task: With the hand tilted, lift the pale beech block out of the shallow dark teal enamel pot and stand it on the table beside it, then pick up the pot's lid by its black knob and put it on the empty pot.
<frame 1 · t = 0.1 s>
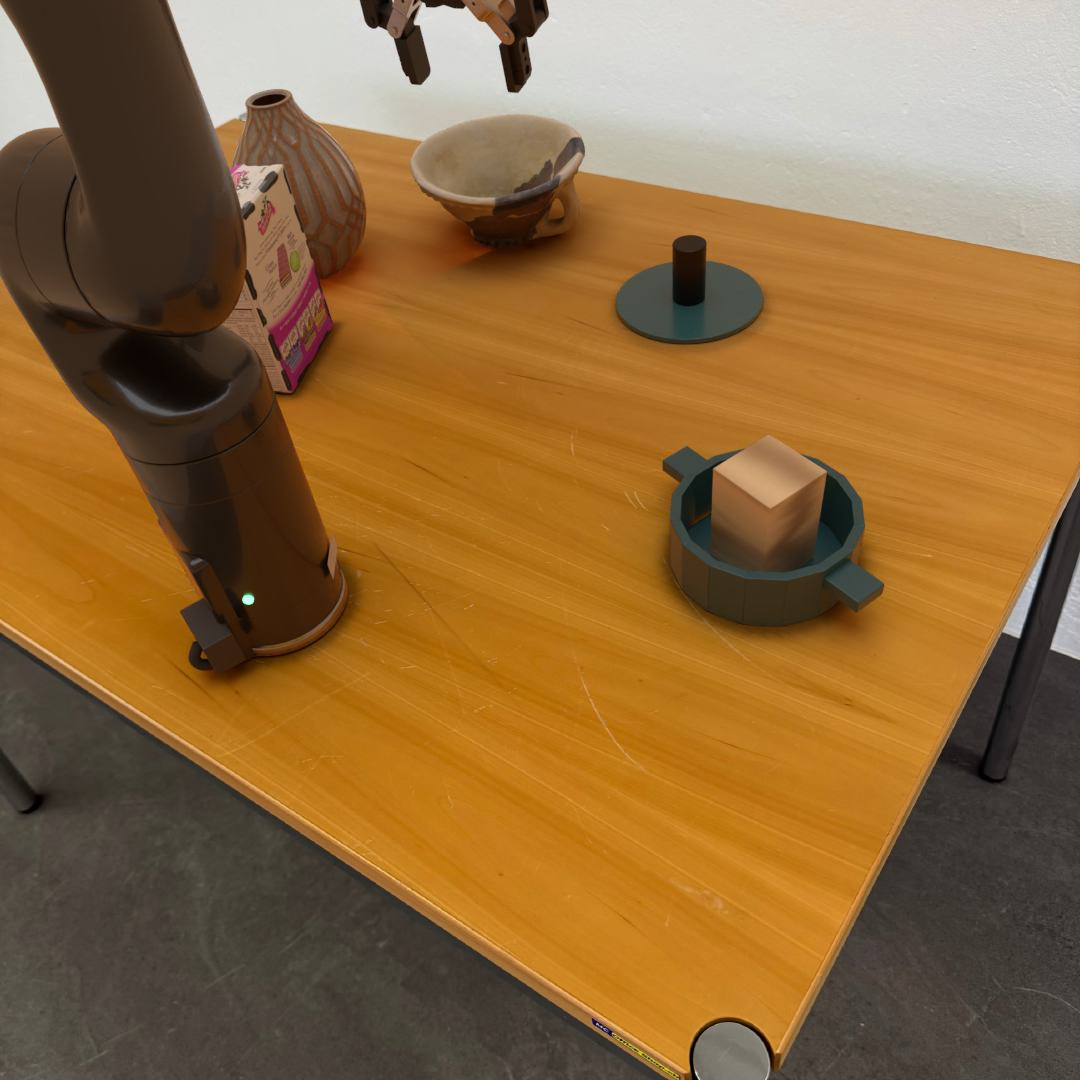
hand: (469, 83, 73), 22 cm above the table, tool pointing down, fingers open, 8 cm apart
vase: (318, 267, 101), on the table
block: (761, 555, 66), resting on pot
pot: (760, 559, 66), on the table
bowl: (508, 237, 102), on the table
candy bar box: (291, 360, 89), on the table
lid: (688, 302, 88), point 1 cm above the table
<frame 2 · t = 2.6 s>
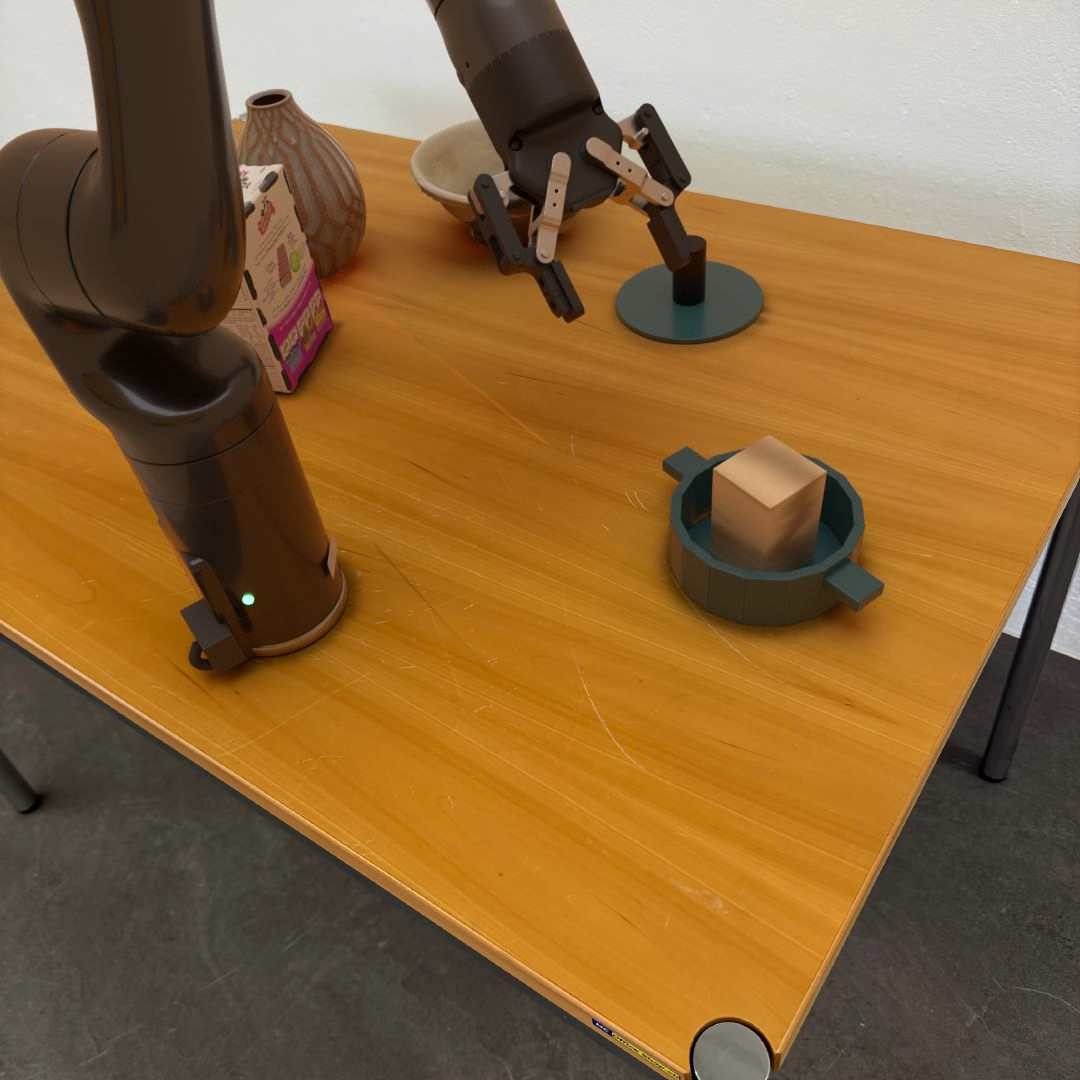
hand: (630, 292, 63), 16 cm above the table, tool tilted 40°, fingers open, 8 cm apart
nothing on the table moved.
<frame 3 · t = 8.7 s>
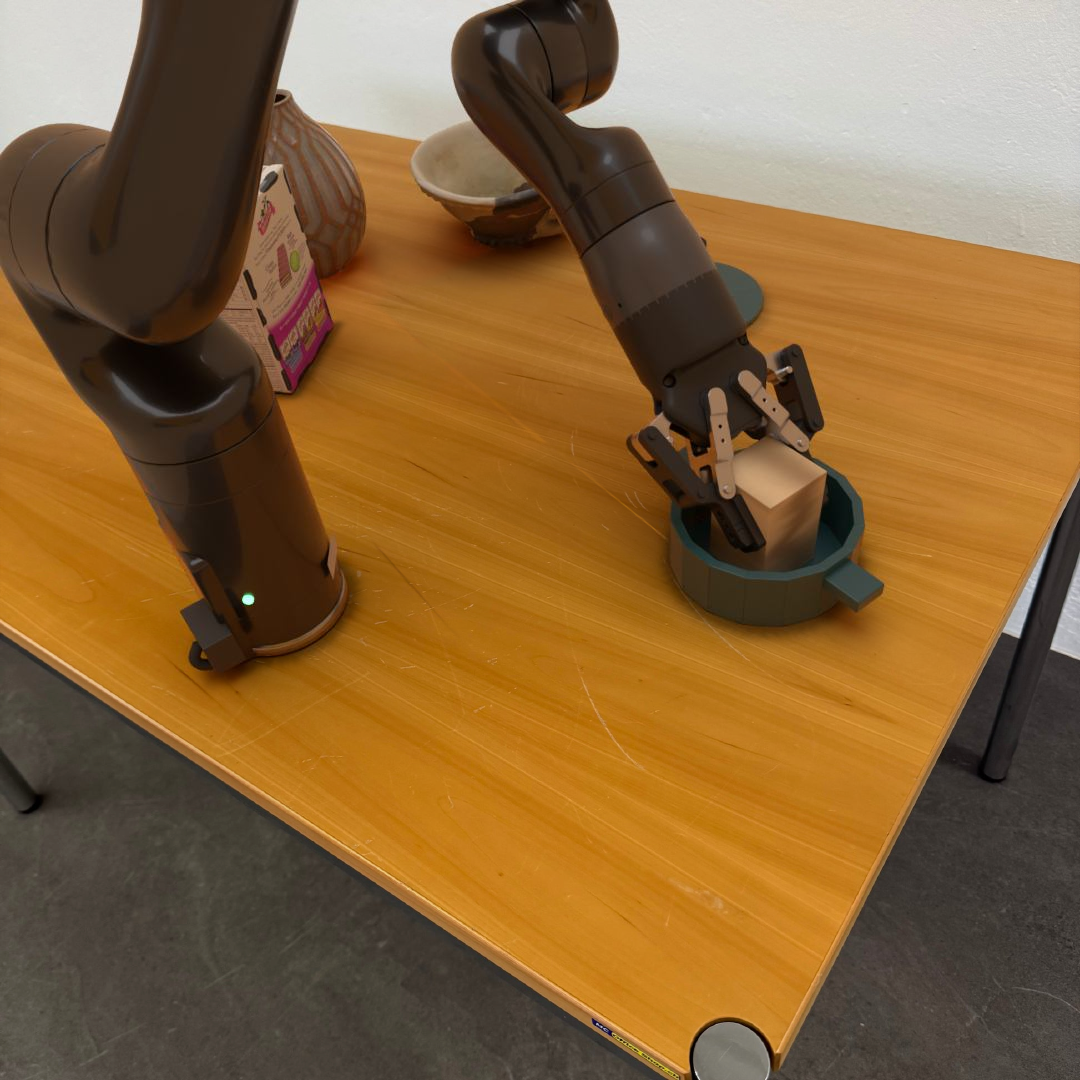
hand: (786, 527, 61), 5 cm above the table, tool tilted 45°, fingers closed on block, 5 cm apart
block: (761, 555, 66), resting on pot, touching gripper
everything else where it was.
when the fingers open (4 cm above the table, at t = 20.2 s): block stays where it is, on the table.
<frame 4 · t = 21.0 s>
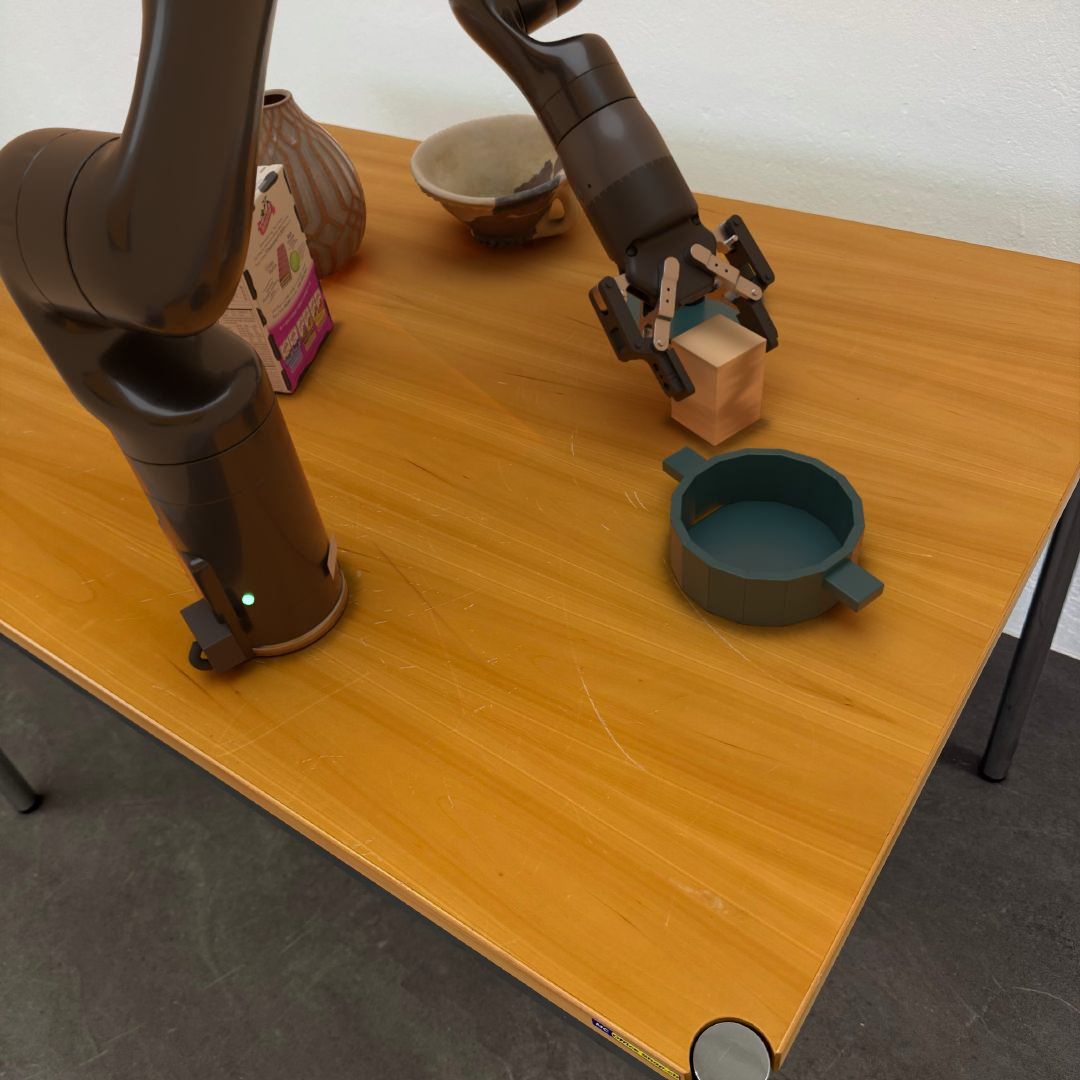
hand: (728, 373, 72), 6 cm above the table, tool tilted 45°, fingers open, 8 cm apart
block: (715, 422, 77), on the table
everything else where it was.
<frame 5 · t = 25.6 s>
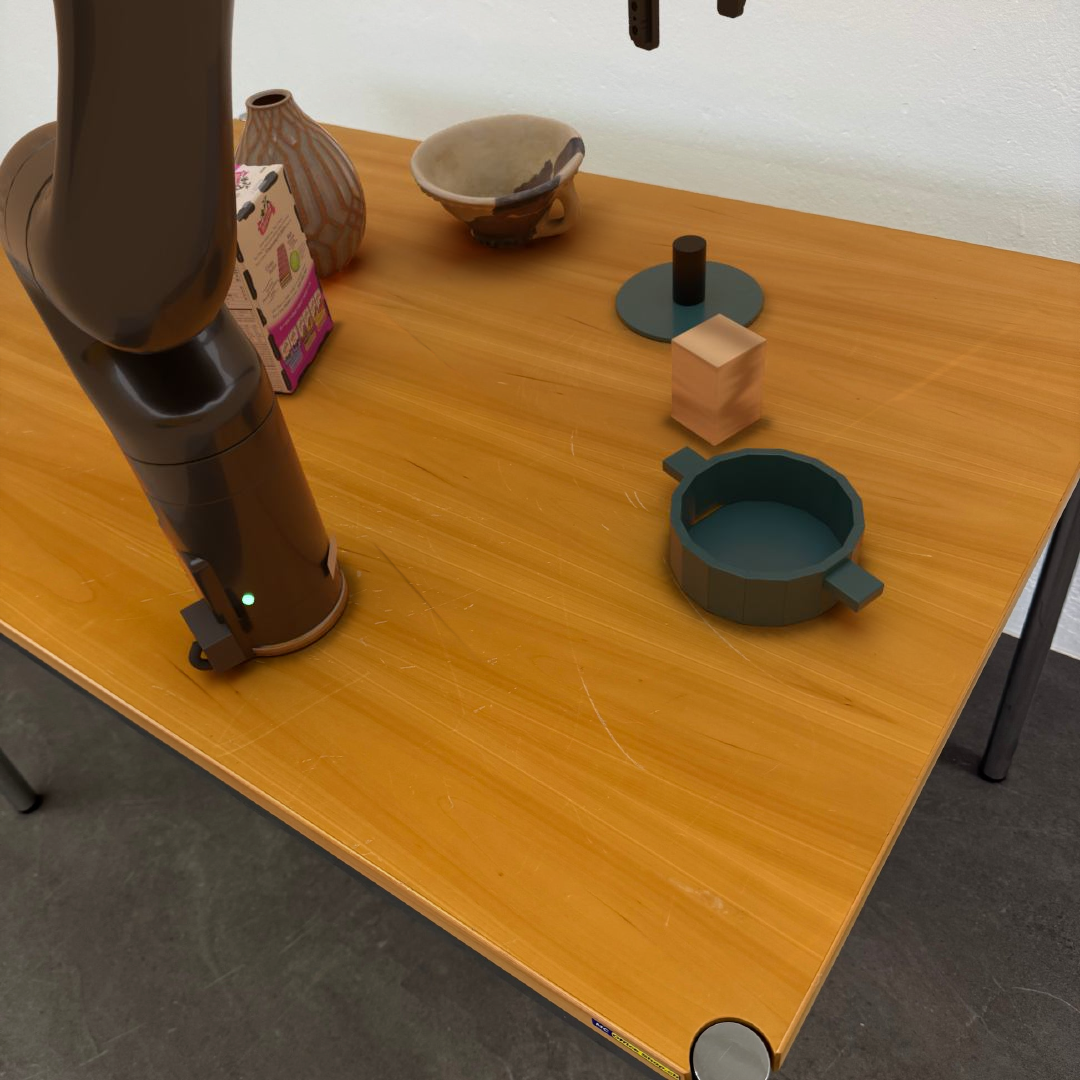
hand: (689, 31, 72), 24 cm above the table, tool pointing down, fingers open, 8 cm apart
nothing on the table moved.
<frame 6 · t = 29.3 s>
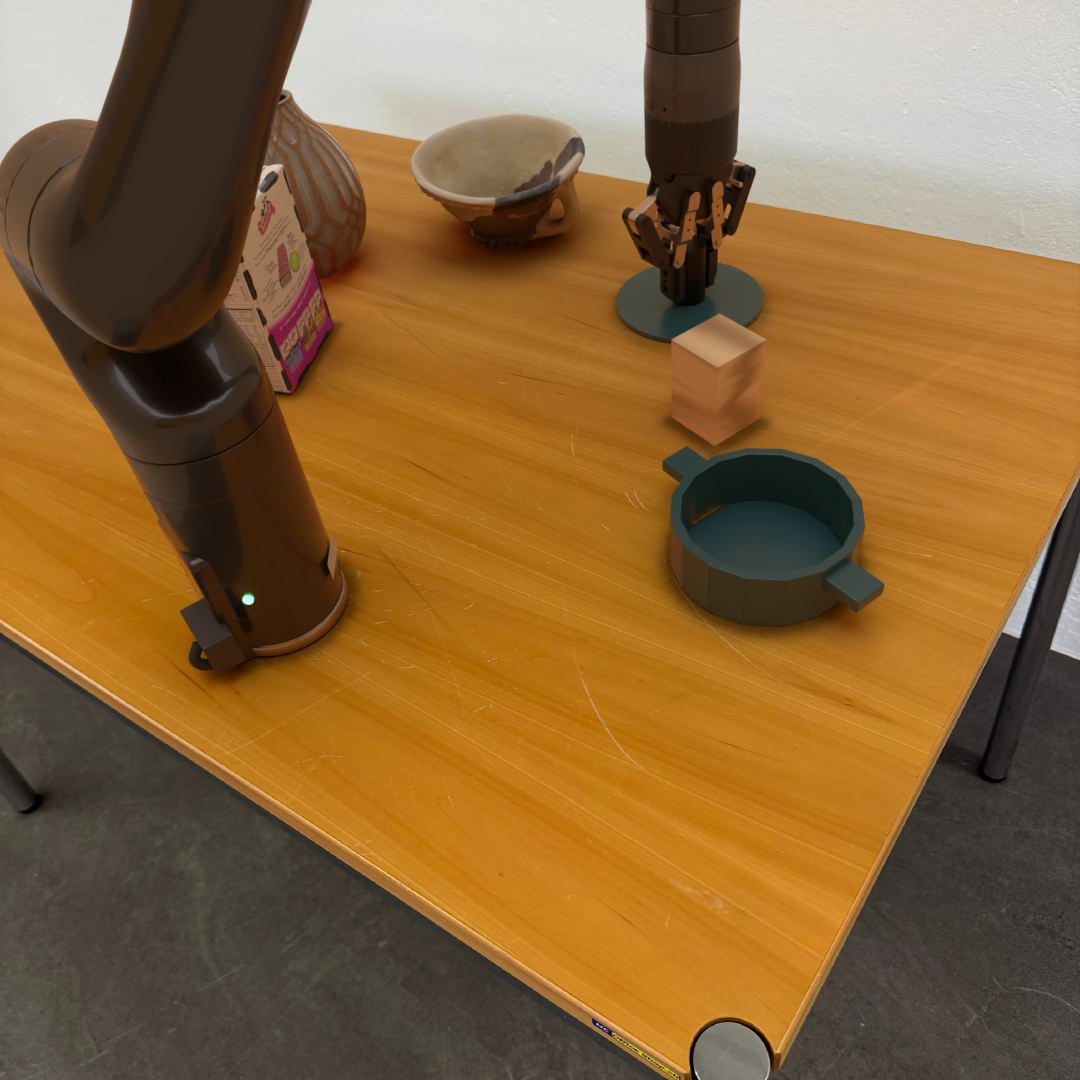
hand: (689, 290, 87), 2 cm above the table, tool pointing down, fingers closed on lid, 3 cm apart
lid: (688, 302, 88), point 1 cm above the table, touching gripper
everything else where it was.
when the fingers open (6 cm above the table, at t = 39.3 s): lid stays where it is, resting on pot.
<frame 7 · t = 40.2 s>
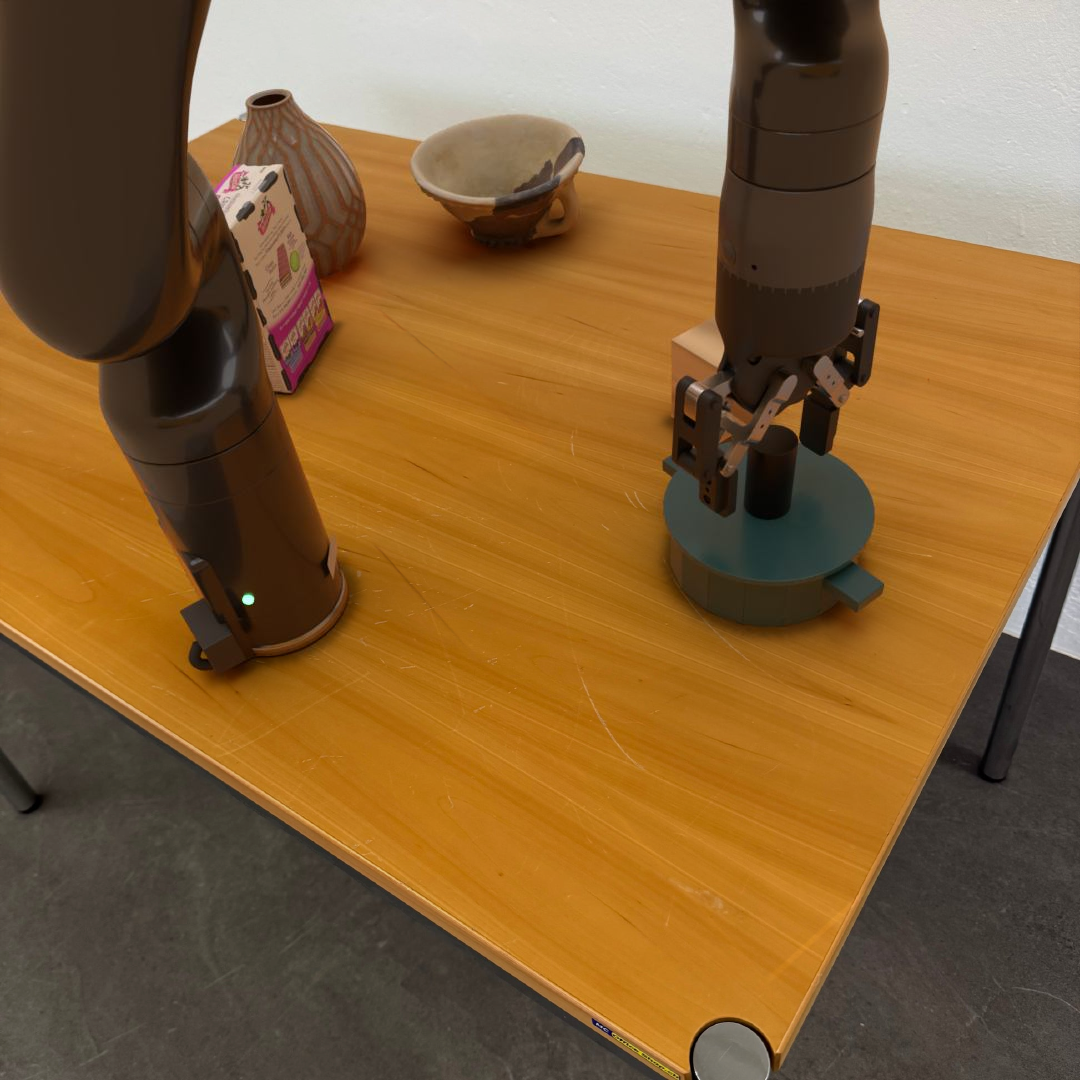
hand: (768, 477, 60), 8 cm above the table, tool pointing down, fingers open, 8 cm apart
lid: (766, 509, 62), point 5 cm above the table, touching pot
everything else where it was.
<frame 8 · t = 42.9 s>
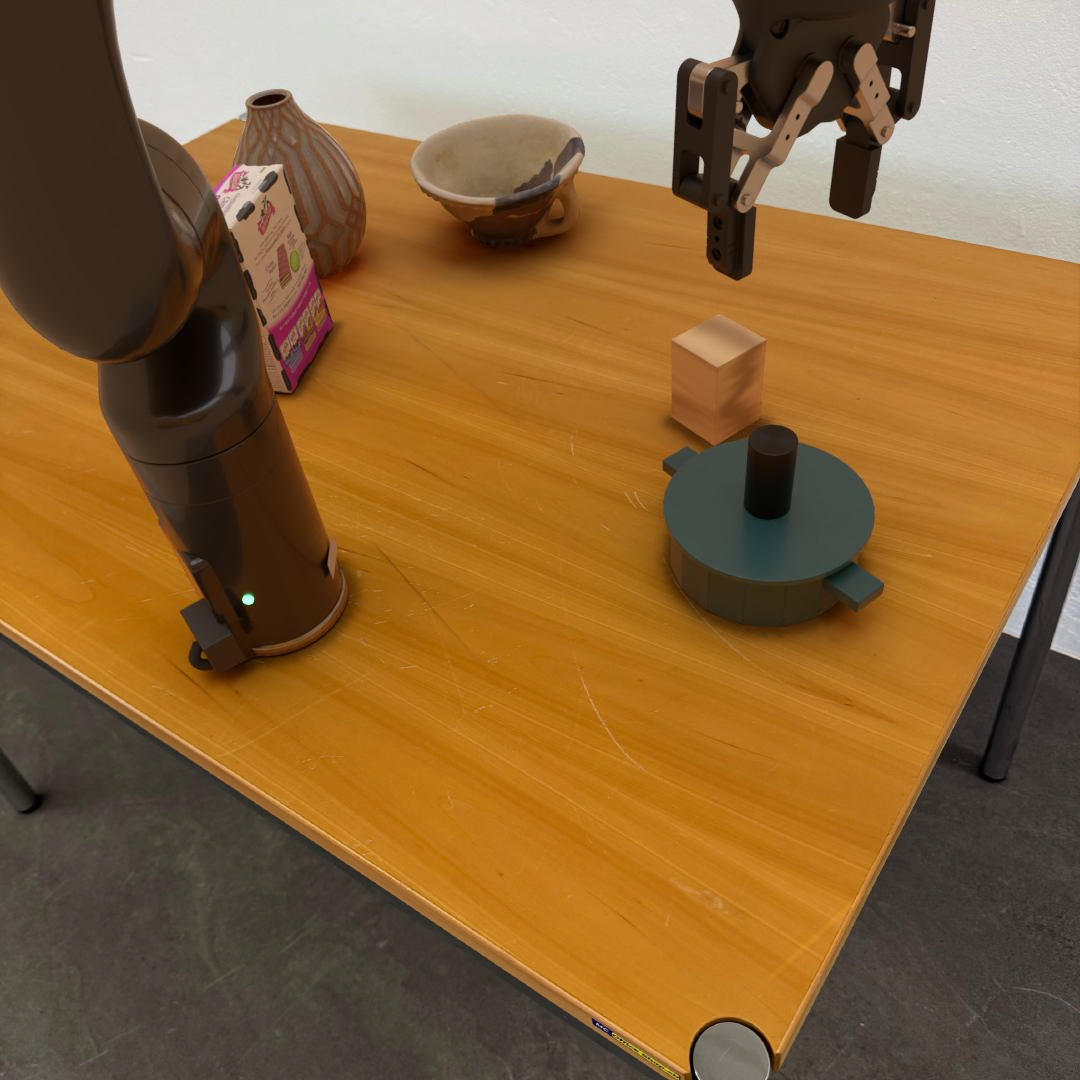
hand: (791, 241, 49), 24 cm above the table, tool pointing down, fingers open, 8 cm apart
nothing on the table moved.
at the end: block inside the target area (0.1 cm from its centre), on the table; block tilted 0°; lid 0.0 cm off-centre on the pot, point 4.9 cm above the pot's base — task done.
